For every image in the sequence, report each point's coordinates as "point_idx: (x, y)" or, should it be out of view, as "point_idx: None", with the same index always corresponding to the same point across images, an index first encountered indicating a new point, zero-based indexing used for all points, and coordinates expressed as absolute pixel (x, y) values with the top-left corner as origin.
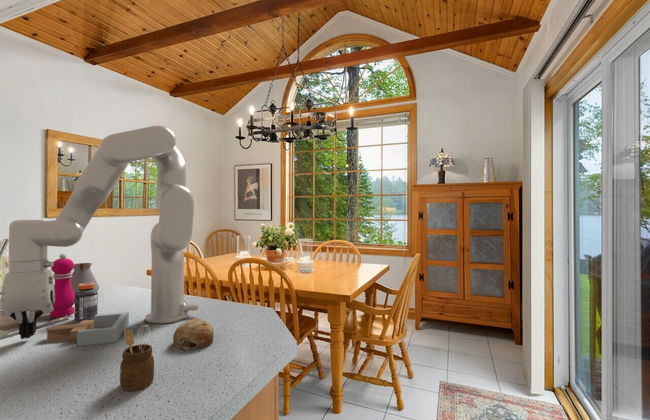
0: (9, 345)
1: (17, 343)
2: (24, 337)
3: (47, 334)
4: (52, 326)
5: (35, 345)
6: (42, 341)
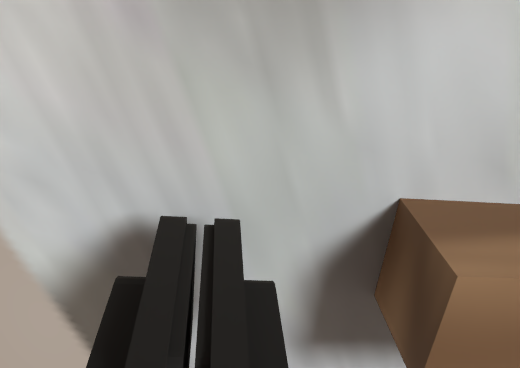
0: (79, 293)
1: (127, 265)
2: (191, 330)
3: (400, 346)
4: (460, 282)
5: (305, 353)
6: (336, 283)
